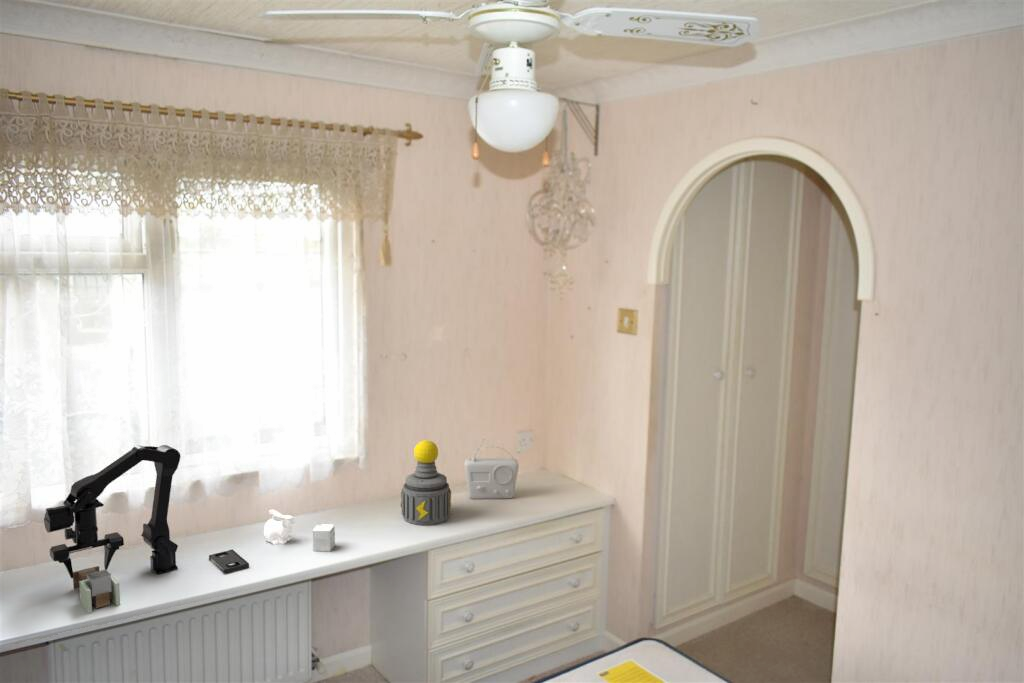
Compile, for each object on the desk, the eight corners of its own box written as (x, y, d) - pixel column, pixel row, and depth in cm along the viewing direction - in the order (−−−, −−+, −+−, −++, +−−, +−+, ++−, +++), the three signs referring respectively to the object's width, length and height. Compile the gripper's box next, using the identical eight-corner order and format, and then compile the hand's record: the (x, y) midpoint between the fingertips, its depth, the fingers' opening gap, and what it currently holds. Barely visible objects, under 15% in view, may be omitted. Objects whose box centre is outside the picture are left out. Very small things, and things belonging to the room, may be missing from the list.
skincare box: (330, 551, 267) (329, 531, 266) (312, 551, 267) (312, 530, 266) (335, 544, 273) (334, 524, 272) (317, 544, 273) (317, 523, 272)
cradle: (109, 591, 235) (107, 570, 235) (120, 604, 227) (119, 582, 226) (77, 599, 230) (76, 577, 229) (88, 613, 222) (86, 591, 221)
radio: (464, 500, 319) (465, 440, 316) (464, 494, 327) (464, 435, 324) (518, 500, 321) (519, 440, 318) (516, 493, 329) (517, 435, 326)
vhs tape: (208, 560, 259) (208, 555, 259) (232, 555, 264) (232, 549, 264) (224, 575, 248) (224, 569, 248) (249, 569, 253) (248, 563, 253)
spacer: (106, 585, 230) (105, 569, 230) (111, 591, 227) (110, 574, 226) (87, 590, 227) (86, 573, 226) (92, 596, 223) (91, 579, 223)
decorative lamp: (405, 507, 310) (405, 433, 306) (453, 509, 309) (453, 434, 305) (396, 525, 291) (396, 446, 287) (447, 527, 291) (448, 447, 287)
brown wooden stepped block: (73, 588, 236) (72, 572, 236) (99, 581, 241) (98, 565, 240) (89, 609, 223) (88, 593, 222) (116, 602, 227) (115, 586, 227)
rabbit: (298, 540, 276) (297, 507, 275) (278, 549, 268) (277, 515, 266) (272, 533, 282) (272, 501, 280) (252, 542, 274) (251, 509, 272)
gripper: (112, 509, 245) (115, 557, 247) (43, 523, 233) (47, 573, 235) (122, 519, 237) (125, 568, 239) (52, 534, 225) (56, 586, 227)
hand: (89, 573), depth 235 cm, fingers open, 9 cm apart
